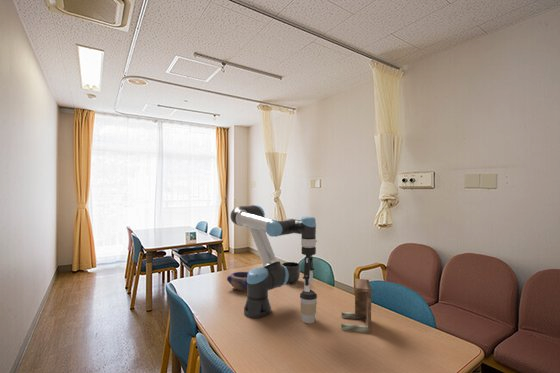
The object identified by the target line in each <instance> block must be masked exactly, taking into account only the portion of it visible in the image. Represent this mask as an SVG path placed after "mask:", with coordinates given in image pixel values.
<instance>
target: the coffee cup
mask: <svg viewBox="0 0 560 373" xmlns="http://www.w3.org/2000/svg"><path fill="white" fill-rule="evenodd" d="M299 297H300V304H299V305H300V313H301V321H302V323H306V324H313V323H315V322H316V315H317V314H316V313H317V303H318V301H317V299H318V294H317V293H316V292H315V291H314V290H313V289H310V292H305V291H304V290H303V291H302V292H300V293H299Z"/></svg>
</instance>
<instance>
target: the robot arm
mask: <svg viewBox="0 0 560 373" xmlns="http://www.w3.org/2000/svg"><path fill="white" fill-rule="evenodd" d="M265 215H266V214H265V210H264V209H263V207H262V206H259V205H253V204H252V205H238V206H236V207H234V208H233V209H232V211H231V212H230V221H231V222H232V223H233V224H234V225H237V226H239V227H244V226H245V227H246V229H247V230H250V233H251V236H252V239H253V242H254V244H255V246H256V249H257V252H258V254H259V257H260V260H261V263H262V267H256V268H255V267H254V268H252V269H251V270H248V271H247V272H248V275H247V290H246V301H245V304H244V306H243V314H244V315H245V316H246V317H248V318H252V319H259V318H260V319H261V318H262V319H263V318H265V317H267V316H269V315H270V314H271V313H272V306H271V303H270V299H269V291H271V290H274V289H277V288H281V287H282V286H283V287H284V286H285V285H286V284H288V283H287V281H288V277H289V274H288V270H287V268H286V267H285V266H284V265H282V264H281V261H280V260H278V259H277V257H276V256H275V253H274V250H273V248H272V246H271V242H270V240H269V237H279V236H280V237H281V236H286V235H291V234H296V235H297V234H298V235H301V241H300V242H301V243H300V244H301V254H302V255H303V256H305V257H304V266H303V267H304V268H303V269H304V270H303V277H302V279H304V282H303V284H304V286H303V289H304V290H303V291H305V292H310V290H311V284H313V282H314V280H313V278H314V275H313V274H314V270H315V268H314V263H313V262H314V261H313V260H314V257H313V256H314V255H316V254H317V247H316V245H317V243H318V241H317V239H316V237H317V235H316V234H317V233H316V232H317V230H316V228H317V222H316V218H315V217H313V216H303V217H301V219H294V218H287V219H285V220H276V219H272V218H267V217H265ZM267 235H268V236H269V237H268V236H267Z"/></svg>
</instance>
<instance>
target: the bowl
mask: <svg viewBox="0 0 560 373" xmlns="http://www.w3.org/2000/svg"><path fill="white" fill-rule="evenodd" d="M248 272H249V271H235V272H232V273H231V274H229V275H227V277H226V281H227V282H228V283H229V284H230V285H231V286H232V287H233V288H234V289H235V290H236V289H237V291H242V290H244V291H247V275H248Z"/></svg>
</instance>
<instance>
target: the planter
mask: <svg viewBox="0 0 560 373" xmlns="http://www.w3.org/2000/svg"><path fill="white" fill-rule="evenodd" d="M281 265H284V266H285V267H286V268H287V270H288V274H289V277H288V281H287V283H286V284H288V283H289V285H290V284H291V285H294V284H296V283H297V281H299V279H300V277H301V276H300V274H301V264H300V263H298V262H295V261H294V262H293V261H292V262H291V261H287V262H283V263H282V264H281ZM293 283H294V284H293Z"/></svg>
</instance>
